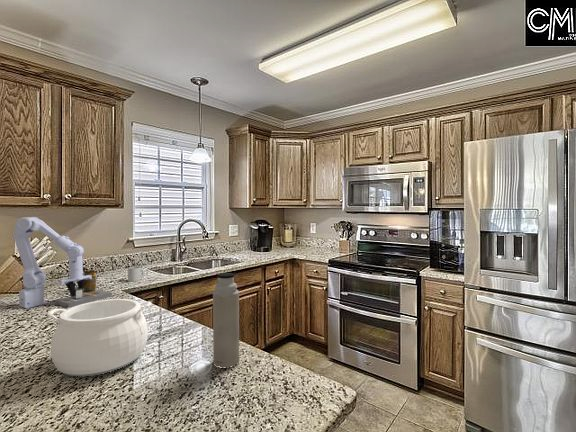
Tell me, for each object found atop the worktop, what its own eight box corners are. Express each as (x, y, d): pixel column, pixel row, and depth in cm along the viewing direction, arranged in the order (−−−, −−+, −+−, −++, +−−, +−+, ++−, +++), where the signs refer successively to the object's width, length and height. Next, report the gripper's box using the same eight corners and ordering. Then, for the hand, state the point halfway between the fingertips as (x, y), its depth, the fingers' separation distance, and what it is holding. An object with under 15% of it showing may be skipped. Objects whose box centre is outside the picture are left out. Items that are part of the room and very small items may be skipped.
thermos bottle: (208, 363, 99) (207, 274, 98) (228, 354, 105) (227, 270, 104) (224, 371, 94) (224, 277, 93) (244, 361, 100) (244, 273, 99)
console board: (68, 307, 154) (68, 303, 154) (55, 304, 160) (55, 299, 160) (111, 296, 174) (111, 292, 173) (98, 293, 179) (98, 289, 179)
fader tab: (76, 298, 160) (76, 289, 160) (70, 297, 163) (70, 288, 163) (82, 297, 163) (82, 288, 163) (76, 295, 166) (76, 287, 165)
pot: (27, 390, 84) (26, 326, 84) (66, 348, 110) (65, 299, 109) (145, 374, 92) (145, 316, 92) (156, 338, 118) (156, 292, 117)
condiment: (95, 288, 190) (95, 268, 190) (98, 291, 184) (97, 271, 183) (81, 290, 186) (81, 270, 185) (83, 293, 179) (83, 272, 179)
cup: (126, 280, 210) (126, 267, 210) (142, 278, 217) (142, 265, 216) (129, 282, 205) (129, 269, 204) (146, 280, 211) (145, 267, 211)
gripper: (65, 272, 154) (65, 300, 155) (94, 267, 167) (95, 293, 167) (57, 271, 158) (57, 298, 158) (87, 266, 170) (87, 291, 171)
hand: (76, 295), depth 163 cm, fingers closed on fader tab, 3 cm apart
